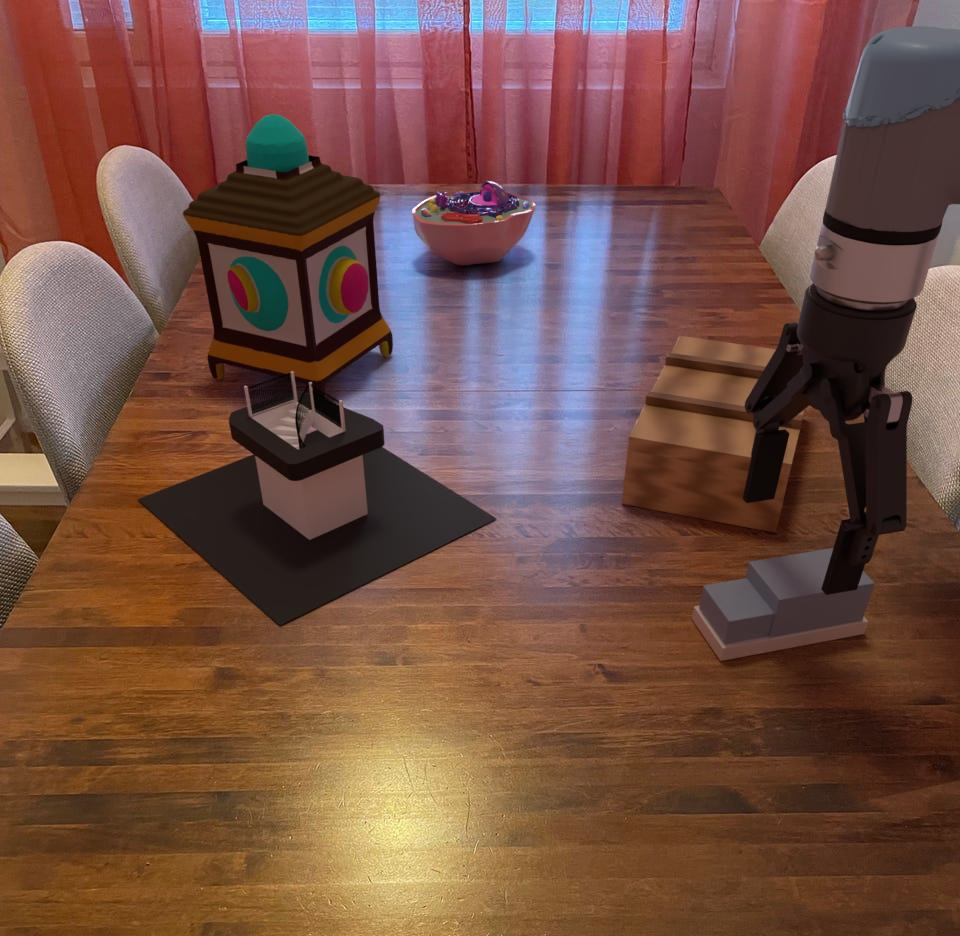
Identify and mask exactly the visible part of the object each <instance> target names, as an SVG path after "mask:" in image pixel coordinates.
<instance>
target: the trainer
mask: <svg viewBox="0 0 960 936" xmlns="http://www.w3.org/2000/svg"><path fill="white" fill-rule="evenodd" d="M833 548H834V547H830V548H824V549H819V550H817V549H816V550H812V551H806V552H800V553H795V554H794V553H793V554H788V555H782V556H778V557H777V556H775V557H770V558H764V559H757V560H752V561H748V564H747V569H746V573H745V577H744V578H739V579H732V580H727V581H721V582H714V583H709V584H704V585H703V586H702V590H701V595H700V601H699V602H700V603H699V605H694V606H693V610H692V616H691V620H692V621H693V623H694V624H695V626H696V628H697V630H698V631H699V632H700V633H701V635H702V636H703V638H704V639H705V641H706V642H707V644H708V645H709V647H710V648H711V649H712V651H713V652H714V654H715V656H716V657H717V658H718V660H719V662H724V661H729V660H734V659H739V658H744V657H745V658H746V657H749V656H753V655H754V656H756V655H760V654H761V655H762V654H766V653H771V652H776V651H781V650H788V649H792V648H798V647H803V646H809V645H813V644H814V645H815V644H819V643H824V642H830V641H835V640H839V639H847V638H851V637H855V636H861V635H865V634H866V630H867V627H868V624H869V621H868V619H867V618H866V617H865V614H866V611H867V608H868V605H869V602H870V598H871V595H872V592H873V589H874V586H875V581H874V580H872V578H871V577H870V576H869V575H868V574H867V573H866V572H865V571H864V570H863V572H862V575H861V579H860V582H859V585H858V588H857V590H853V591H847V592H841V593H835V594H829V595H826V594H825V593H824V592H823V591H822V590H821V588H822V585H823V582H824V578H825V575H826V571H827V568H828V565H829V561H830V558H831V555H832V551H833Z"/></svg>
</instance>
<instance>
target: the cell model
mask: <svg viewBox="0 0 960 936" xmlns="http://www.w3.org/2000/svg"><path fill="white" fill-rule="evenodd" d="M536 207H537V205H536V203H535V202H534V201H533V200H531V199H529V198H526V197H524V196H522V195H520V194H516V193H514V192H513V193H512V192H508V191H506V190H505V188H504V187H503V186H501V184H499V183H497V182H495V181H490V180H489V181H488V180H486V181H484V182H483V183H482V184H481V187H480V188H476V189H466V190H450V191H444V192H440V191H437V192H436V194H435V195H433V196H429V197H428V198H426V199H425V200H423V201H421V202H420V203H418V204H417V205H415V206H414V207H413V208H412V209H411V214H412V222H413V228H414V231H415V234H416V236H417V237H418V238H419V240H420V241H421V242H422V243H423V244H424V245H425V246H426V247H427V248H428V250H430V252H432V253H433V255H435V256H437V257H439V258H440V259H442V260H444V261H447V262H450V263H451V264H453V265H456V266H472V265H482V264H483V265H485V264H493V263H496V262H500V261H501V260H502V259H504V258H505V257H506V256H507V255H508V254H509V253H510V252H511V251H512V249H514V248H515V247H516V245H517V244H518V243H519V242H520V241H521V240H522V239H523V237H524V236H525V234H526V232H527V230H528V229H529V226H530V224H531V221H532V219H533V216H534V213H535V211H536Z"/></svg>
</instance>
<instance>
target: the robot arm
mask: <svg viewBox="0 0 960 936" xmlns="http://www.w3.org/2000/svg"><path fill="white" fill-rule="evenodd" d="M842 119H843V121H842V122H843V123H842V127H841V133H840V136H839V137H840V138H839V142H838V145H837V146H838V147H837V152H836V157H835V161H834V167H833V172H832V176H831V181H830V185H829V191H828V194H827V200H826V204H825V208H824V212H823V216H822V223H821V227H820V230H819V234H818V239H817V243H816V248H815V250H814V256H813V260H812V264H811V268H810V273H809V279H810V281H811V282H812V283H811V284H810V285H809V286H808V287H807V288H805V289H806V290H805V292H804V296H803V300H802V305H801V310H800V314H799V318H798V321H796V322H786V323H785V324H783V327H782V330H781V334H780V337H779V341H778V345H777V347H776V348H775V349H776V350H775V352H774V354H773V355H772V357H771V359H770V361H769V362H768V364H767V366H766V367H765V369H764V371H763V372H762V374H761V376H760V377H759V379H758V381H757V382H756V384H755V386H754V387H753V389H752V391H751V392H750V394H749V396H748V398H747V399H746V401H745V410H746V412H747V413H753V415H754V419H753V426H754V428H755V429H756V433H755V437H754V443H753V447H752V452H751V462H750V466H749V471H748V476H747V480H746V485H745V490H744V494H743V500H744V501H745V502H746V503H751V502H758V501H765V500H771V499H774V498H775V493H776V489H777V485H778V481H779V477H780V472H781V468H782V464H783V460H784V455H785V451H786V447H787V443H788V439H789V434H790V433H789V432H788V431H787V430H786V429H784V430H779V427H783V426H790V425H792V424H789V423H788V422H791V420H792V419H793V418H794V417H796V416H797V415H798V414H799V413H801V412H802V411H803V410H804V409H805V410H806V409H807V408H808V407H809V406H810V407H811V408H812V409H813V410H817V411H818V412H820V414H821V415H822V417H823V418H824V420H826V421H827V422H828V427H829V433H830V435H831V437H832V439H833V438H834V439H835V440H837V443H838V451H839V457H840V463H841V470H842V477H843V482H844V488H845V495H846V502H847V508H848V514H849V518H846V519H841V521H840V524H839V528H838V531H837V535H836V537H835V541H834V543H833V544H834V545H833V547H832V548H833V551H832V555H831V558H830V561H829V565H828V568H827V571H826V575H825V578H824V582H823V585H822V588H821V590H822V591H823V592H824V593H825V594H826V595H829V594H835V593H841V592H847V591H853V590H857V588H858V585H859V582H860V579H861V575H862V572H863V571H864V570H865V566H866V564H869V563H870V562H871V560H872V558H873V555H874V553H875V552H874V551H875V548H876V546H877V542H878V540H879V536H882V535H887V534H894V533H900V532H904V531H905V530H906V528H907V519H908V518H907V516H908V515H907V501H908V500H907V488H908V487H907V483H908V482H907V481H908V479H907V474H908V471H907V469H908V468H907V467H908V466H907V463H908V461H907V459H908V456H907V455H908V454H907V453H908V445H907V444H908V443H907V442H908V438H907V437H908V428H907V427H908V423H909V419H910V414H911V411H912V410H911V409H912V405H913V395H912V393H911V392H910V391H909V390H902V391H896V392H895V391H893V390H892V389H890V388H888V387H886V370H887V367H888V366H889V364H890V363H891V362H892V361H893V360H894V359H895V358H896V357H897V356H899V354H901V353H902V352H903V350H904V349H905V347H906V343H907V340H908V337H909V334H910V331H911V327H912V323H913V320H914V318H915V314H916V310H917V307H918V306H917V305H918V303H917V301H916V300H915V298H916V297H918V296H919V295H921V293H922V291H923V290H924V287H925V284H926V281H927V277H928V273H929V270H930V266H931V262H932V259H933V255H934V252H935V249H936V246H937V243H938V239H939V235H940V233H941V229H942V226H943V222H944V221H943V220H944V218H945V215H946V213H947V210H948V209H949V207H950V205H960V29H958V28H942V27H937V26H922V25H921V26H900V27H893V28H892V27H891V28H888V29H885V30H883V31H879V32H878V33H876V34H875V35H874V36H873V37H872V38H871V39H869V40H868V42H867V44H865V46H864V48H863V51H862V53H861V56H860V60H859V63H858V65H857V69H856V73H855V76H854V80H853V84H852V87H851V90H850V94H849V97H848V101H847V104H846V107H845V109H844V110H843V113H842ZM862 415H863V419H864V421H863V422H855V423H847V422H851V421H855V420H857V419H859V418H860V417H861V416H862Z"/></svg>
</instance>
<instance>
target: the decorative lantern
mask: <svg viewBox="0 0 960 936" xmlns="http://www.w3.org/2000/svg"><path fill="white" fill-rule="evenodd" d="M308 150H309V149H308V144H307V141H306V138H305V136H304V134H303V133H302V132H301V131H300V130H299V129H298V128H297V127H296V126H295V125H294V124H293V122H292V121H290V120H289V119H288V118H286V117H284V116H282V115H281V114H268V115H267V114H266V115H264V116H262V118H261V119H259V120H258V121H257V122H256V123H255V124H254V126H253V127H252V128H251V130H250V131H249V133H248V134H247V137H246V140H245V153H246V159H245V160H242V161H240V162H238V163H236V164H235V171H232V172H229V174H228V175H227V177H226V180H224V181H221V182H219V184H217V185H215V186H213V187H210V188H207V189H206V190H202V191H201V192H200V193H199V194H198V195H197V197H196V199H194V200H192V201H190V202H189V203H188V207H187V208H185V209H184V210H183V212H182V216H183V218H184V220H185V222H186V223H187V224H188V226H189V227H190V229H191V230H192V231H193V234H194V235H195V238H196V241H197V246H198V253H199V258H200V262H201V263H200V264H201V268H202V272H203V279H204V284H205V289H206V295H207V300H208V306H209V311H210V317H211V320H212V328H213V336H212V339H211V343H210V345H209V349H208V352H207V364H208V368H209V371H210V374H211V376H212V378H213V379H215V380H216V381H221V380H222V379H223V378H224V377H225V365H228V366H230V367H231V366H232V367H235V368H239V369H243V370H247V371H252V372H255V373H260V374H264V375H268V376H272V377H275V378H276V377H279V376H282V375H284V374H287V373H290V372H292V371H293V372H294V377H295V383H301V384H304V385H305V386H307V385H308V384H309V382H312V385H314V386H316V387H317V388H319V389H320V390H322V391H324V392H325V393H327V392H326V389H327V385H328V383H329V382H330V381H331V380H332V379H334V378H335V377H336V376H337V375H339V374H340V373H342V372H343V371H345V370H346V369H347V368H349V367H350V366H352V365H353V364H354V363H355V362H358V361H359V360H360V359H361V358H363V357H364V356H365V355H367V354H369V353H370V352H371V351H373V350H374V349H376V348H377V347H378V348H379V352H380V354H381V356H383V357H384V358H388V357H390V356H391V355H392V353H393V349H394V340H393V339H394V338H393V332H392V330H391V328H390V327H389V325H388V323H387V322H386V320H385V318H384V316H383V314H382V312H381V307H380V297H379V283H378V281H379V280H378V269H377V268H378V267H377V253H376V239H375V226H374V225H375V224H374V219H375V214H376V210H377V209H378V205H379V203H380V199H381V193H380V192H379V191H377V190H375V189H374V188H373V186H372V185H371V184H367V183H364V181H363V179H361V178H359V177H356V176H350V175H344V174H342V173H341V172H339V171H336V170H333V169H332V167H331V166H330V165H329V164H324V163H322V162H321V157H320V156H317V155H310V154H309V151H308ZM287 378H288V379H289V378H290V375H289V377H288V375H287V376H286V380H287ZM281 379H283V377H282V378H281ZM283 380H285V376H284V379H283ZM313 390H314V391H315V392H316V391H318V390H317V389H313ZM315 395H316V394H315ZM320 395H322V396H325V394H320ZM324 399H325V398H324Z"/></svg>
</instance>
